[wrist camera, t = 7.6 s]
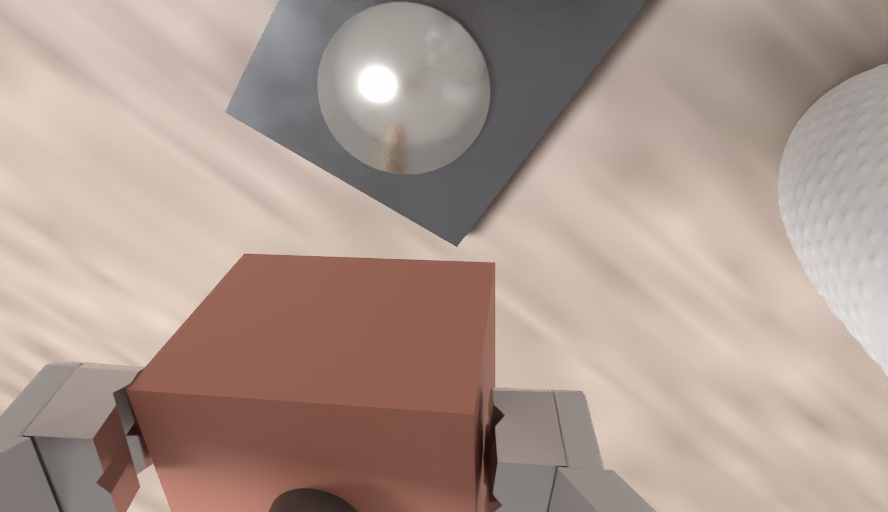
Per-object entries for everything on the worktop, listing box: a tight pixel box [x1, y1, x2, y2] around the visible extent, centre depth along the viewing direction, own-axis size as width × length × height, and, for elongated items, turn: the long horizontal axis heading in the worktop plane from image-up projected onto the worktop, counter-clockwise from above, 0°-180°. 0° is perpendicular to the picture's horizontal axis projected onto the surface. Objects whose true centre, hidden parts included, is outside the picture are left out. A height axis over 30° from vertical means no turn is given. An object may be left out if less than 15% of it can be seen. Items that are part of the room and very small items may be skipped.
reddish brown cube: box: [126, 254, 495, 512], centre depth 11 cm, size 5×5×5 cm
